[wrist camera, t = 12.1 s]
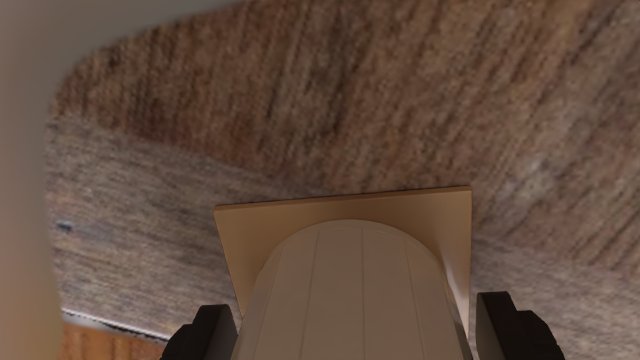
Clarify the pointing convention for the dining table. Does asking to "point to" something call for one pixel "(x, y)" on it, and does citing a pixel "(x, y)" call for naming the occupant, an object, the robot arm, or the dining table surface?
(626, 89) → the dining table surface
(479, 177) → the dining table surface
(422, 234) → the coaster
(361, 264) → the cream dish
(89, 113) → the dining table surface
